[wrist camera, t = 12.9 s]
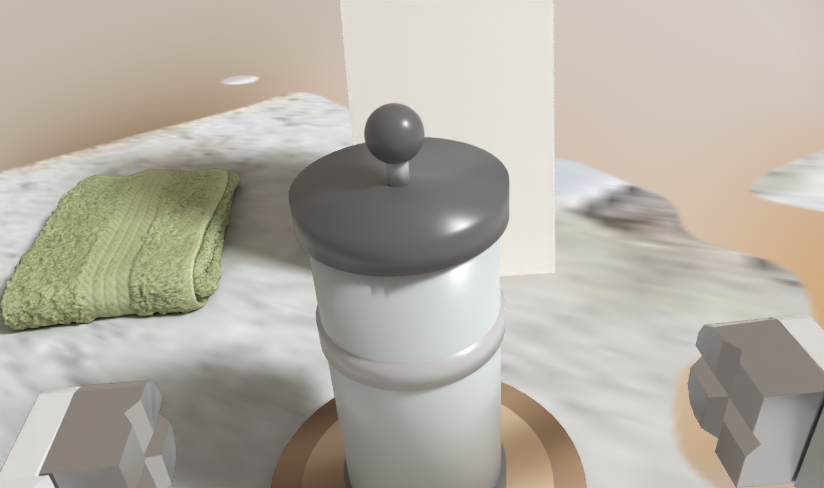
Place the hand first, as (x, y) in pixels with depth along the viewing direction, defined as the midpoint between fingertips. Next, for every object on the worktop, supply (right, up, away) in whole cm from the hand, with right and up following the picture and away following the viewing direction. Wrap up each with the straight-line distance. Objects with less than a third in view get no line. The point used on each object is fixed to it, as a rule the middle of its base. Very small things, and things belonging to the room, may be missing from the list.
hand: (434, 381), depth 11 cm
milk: (+2, +3, +37) cm, 37 cm away
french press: (0, -8, +18) cm, 20 cm away
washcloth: (-19, +1, +38) cm, 43 cm away
